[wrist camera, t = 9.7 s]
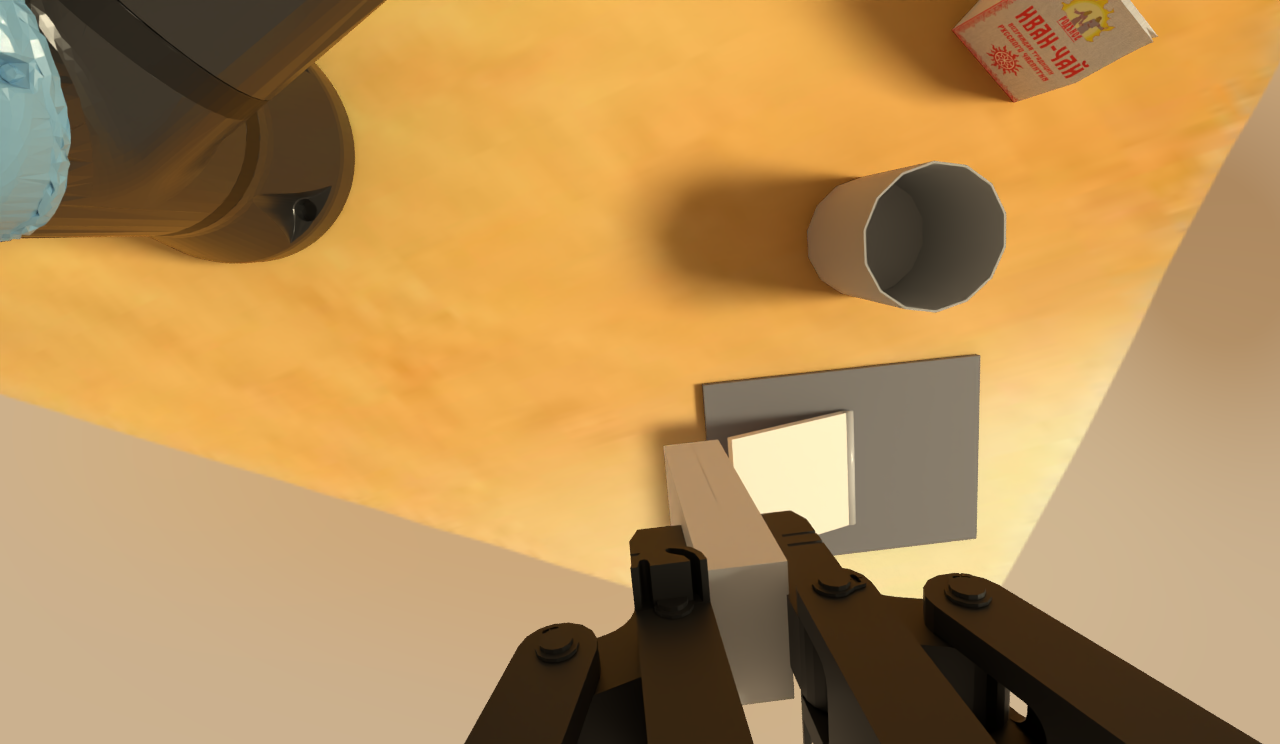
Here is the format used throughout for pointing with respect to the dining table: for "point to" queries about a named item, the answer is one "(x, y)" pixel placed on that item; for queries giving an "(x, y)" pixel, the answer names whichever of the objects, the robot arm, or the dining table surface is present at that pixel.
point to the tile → (801, 469)
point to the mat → (880, 442)
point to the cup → (910, 236)
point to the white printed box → (1050, 40)
